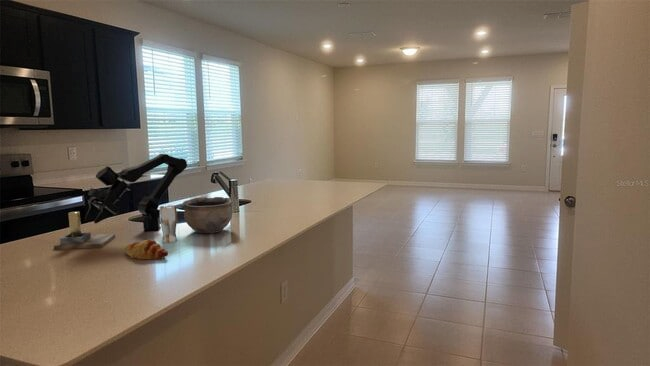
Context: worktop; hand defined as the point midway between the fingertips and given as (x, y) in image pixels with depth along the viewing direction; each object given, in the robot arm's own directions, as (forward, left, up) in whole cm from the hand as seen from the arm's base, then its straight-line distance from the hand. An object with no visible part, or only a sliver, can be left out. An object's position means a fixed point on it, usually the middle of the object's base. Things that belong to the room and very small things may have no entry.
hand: (90, 221), depth 176 cm
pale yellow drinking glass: (+4, +4, -7) cm, 9 cm away
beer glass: (-33, +4, -9) cm, 34 cm away
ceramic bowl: (-48, -10, -9) cm, 49 cm away
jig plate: (+1, +2, -9) cm, 9 cm away
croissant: (-28, +24, -9) cm, 38 cm away
